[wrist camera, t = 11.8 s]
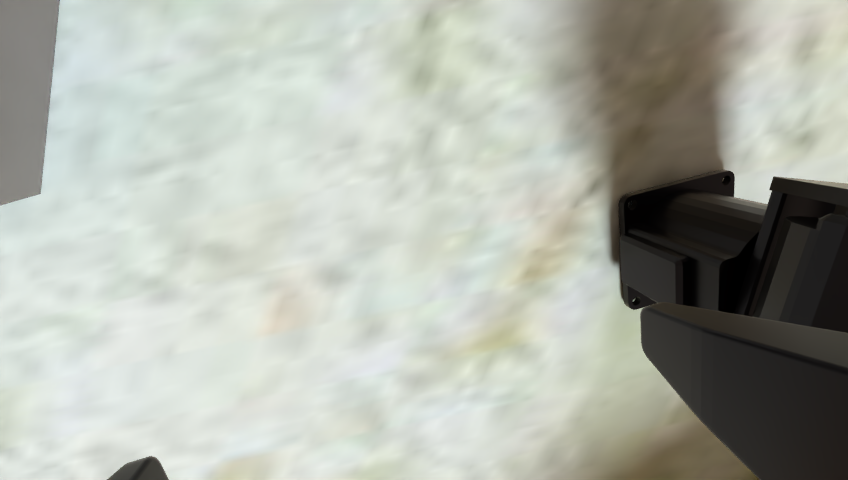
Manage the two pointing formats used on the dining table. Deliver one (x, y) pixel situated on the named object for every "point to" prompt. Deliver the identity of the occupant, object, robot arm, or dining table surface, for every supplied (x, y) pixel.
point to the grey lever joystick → (25, 93)
